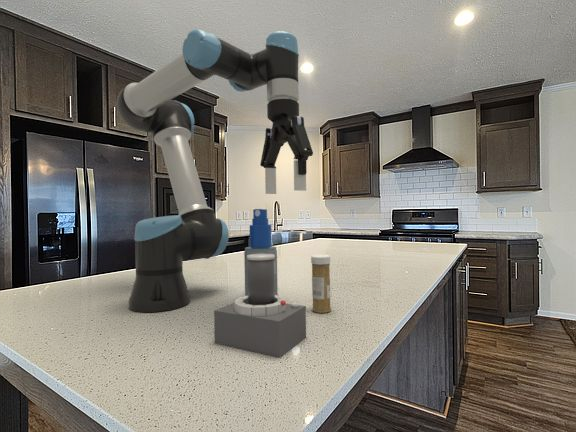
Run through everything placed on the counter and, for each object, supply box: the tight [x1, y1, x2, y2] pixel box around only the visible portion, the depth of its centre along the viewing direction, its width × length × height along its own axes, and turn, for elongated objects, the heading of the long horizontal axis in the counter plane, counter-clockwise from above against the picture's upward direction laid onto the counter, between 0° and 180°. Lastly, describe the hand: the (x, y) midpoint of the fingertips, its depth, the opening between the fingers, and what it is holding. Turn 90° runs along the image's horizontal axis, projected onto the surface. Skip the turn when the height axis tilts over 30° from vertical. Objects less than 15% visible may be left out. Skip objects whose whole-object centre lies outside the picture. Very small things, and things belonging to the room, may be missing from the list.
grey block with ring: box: [213, 295, 307, 358], centre depth 64 cm, size 14×10×8 cm
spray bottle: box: [243, 208, 279, 296], centre depth 92 cm, size 9×9×25 cm
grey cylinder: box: [247, 254, 276, 305], centre depth 64 cm, size 5×5×10 cm
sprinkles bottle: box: [310, 254, 332, 314], centre depth 82 cm, size 5×5×13 cm
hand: (284, 192), depth 80 cm, fingers open, 13 cm apart
